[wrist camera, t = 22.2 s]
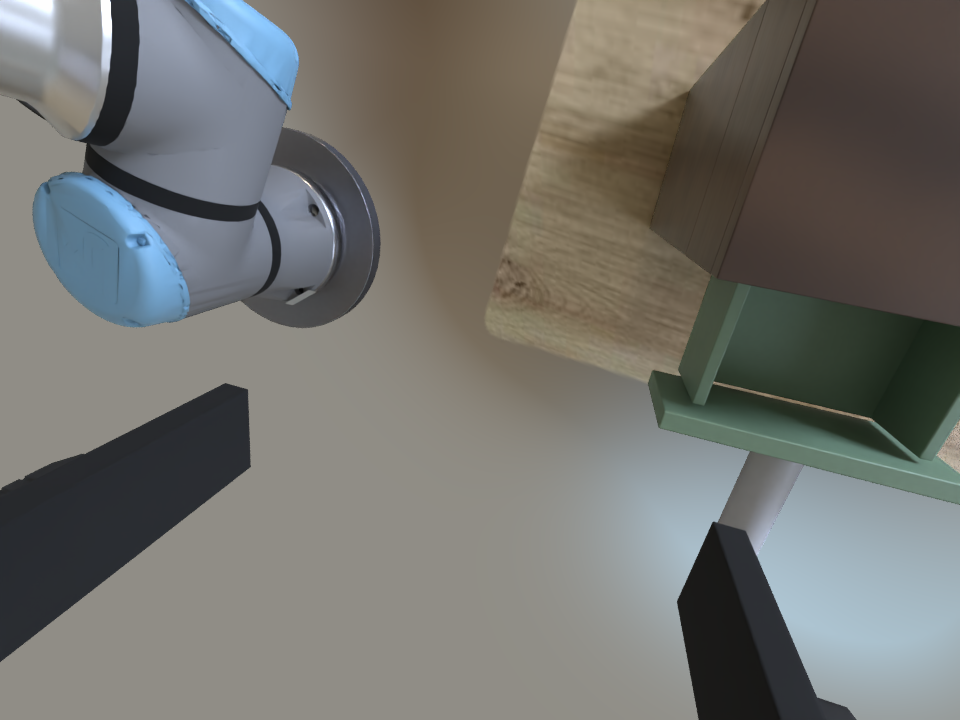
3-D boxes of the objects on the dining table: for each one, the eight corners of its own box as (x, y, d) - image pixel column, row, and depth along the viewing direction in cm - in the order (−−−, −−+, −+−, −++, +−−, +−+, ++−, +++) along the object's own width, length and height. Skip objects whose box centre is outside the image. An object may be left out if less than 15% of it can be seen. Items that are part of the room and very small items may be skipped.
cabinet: (690, 88, 40) (854, -106, 14) (865, 112, 38) (1458, -71, 12) (649, 228, 45) (716, 278, 18) (803, 257, 42) (1131, 360, 16)
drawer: (714, 182, 24) (747, 178, 18) (1016, 231, 21) (1156, 244, 16) (604, 511, 32) (605, 576, 26) (815, 573, 30) (863, 657, 24)
